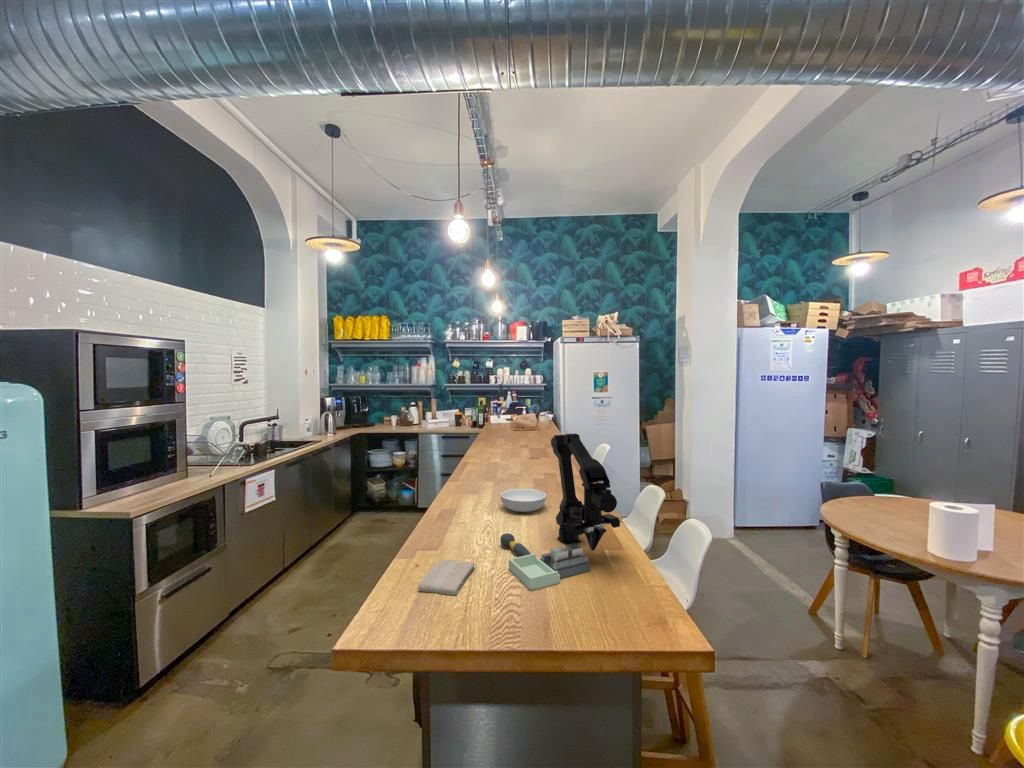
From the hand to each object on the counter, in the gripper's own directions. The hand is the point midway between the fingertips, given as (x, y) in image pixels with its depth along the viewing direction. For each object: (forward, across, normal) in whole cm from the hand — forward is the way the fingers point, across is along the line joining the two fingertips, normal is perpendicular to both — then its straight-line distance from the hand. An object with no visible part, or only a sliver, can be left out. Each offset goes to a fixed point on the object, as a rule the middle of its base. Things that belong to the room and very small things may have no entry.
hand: (592, 550), depth 138 cm
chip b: (+1, +13, 0) cm, 13 cm away
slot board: (+4, +11, 0) cm, 12 cm away
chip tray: (+4, +22, 0) cm, 23 cm away
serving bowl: (+4, -5, -58) cm, 58 cm away
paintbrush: (+4, +19, -18) cm, 26 cm away
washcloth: (+5, +46, -10) cm, 47 cm away
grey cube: (+1, +8, 0) cm, 8 cm away
